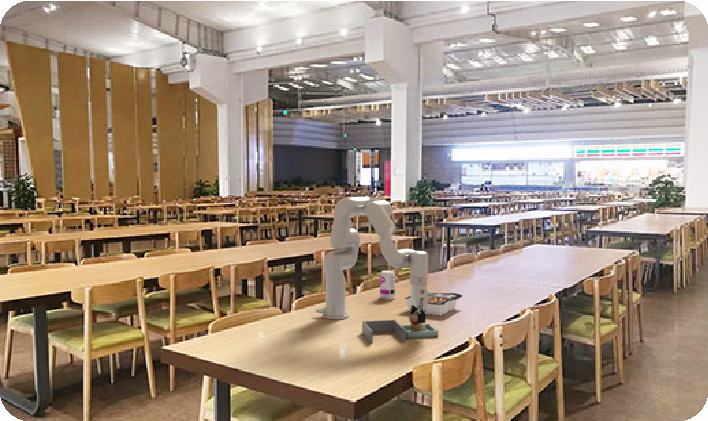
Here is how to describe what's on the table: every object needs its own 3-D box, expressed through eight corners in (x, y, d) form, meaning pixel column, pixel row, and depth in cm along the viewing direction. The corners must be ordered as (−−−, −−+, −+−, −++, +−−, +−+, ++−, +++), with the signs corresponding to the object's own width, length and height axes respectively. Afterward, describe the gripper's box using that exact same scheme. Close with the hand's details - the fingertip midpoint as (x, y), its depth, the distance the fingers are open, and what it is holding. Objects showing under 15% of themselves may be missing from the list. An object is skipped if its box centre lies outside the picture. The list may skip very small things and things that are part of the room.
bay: (370, 343, 225) (370, 331, 225) (362, 332, 241) (362, 321, 241) (405, 341, 228) (405, 329, 228) (395, 331, 244) (395, 319, 244)
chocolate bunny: (419, 329, 244) (419, 306, 244) (428, 333, 237) (428, 310, 237) (408, 330, 242) (408, 307, 242) (417, 335, 235) (417, 311, 235)
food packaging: (443, 303, 266) (401, 297, 278) (443, 318, 267) (400, 312, 279) (462, 294, 287) (422, 289, 299) (462, 308, 288) (422, 303, 300)
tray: (407, 338, 233) (407, 332, 233) (399, 330, 244) (399, 325, 244) (438, 336, 236) (438, 330, 235) (429, 329, 247) (429, 323, 247)
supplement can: (382, 300, 305) (382, 273, 304) (378, 297, 313) (378, 270, 312) (396, 299, 307) (397, 272, 307) (391, 296, 315) (392, 270, 315)
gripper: (433, 284, 231) (433, 324, 232) (420, 276, 248) (419, 314, 249) (416, 284, 229) (415, 325, 231) (404, 276, 246) (403, 315, 247)
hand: (417, 319), depth 240 cm, fingers open, 9 cm apart
